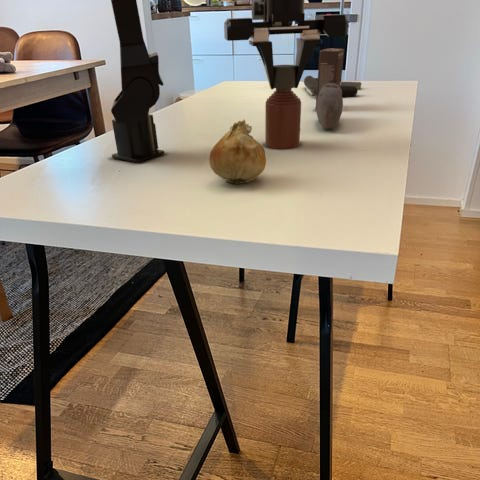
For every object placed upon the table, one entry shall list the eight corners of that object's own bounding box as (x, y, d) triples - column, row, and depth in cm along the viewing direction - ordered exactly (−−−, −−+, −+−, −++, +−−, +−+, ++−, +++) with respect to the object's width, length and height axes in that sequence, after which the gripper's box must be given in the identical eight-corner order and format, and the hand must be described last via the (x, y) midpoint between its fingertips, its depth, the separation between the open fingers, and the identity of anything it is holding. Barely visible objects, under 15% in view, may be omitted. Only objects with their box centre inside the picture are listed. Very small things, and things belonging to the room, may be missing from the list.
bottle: (288, 150, 81) (290, 74, 75) (258, 146, 84) (258, 72, 78) (305, 142, 85) (309, 70, 79) (276, 139, 88) (277, 68, 82)
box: (334, 111, 107) (338, 50, 101) (314, 110, 109) (317, 50, 102) (340, 106, 112) (345, 47, 105) (321, 106, 114) (325, 48, 107)
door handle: (355, 76, 138) (299, 74, 137) (374, 86, 121) (310, 84, 120) (353, 88, 139) (298, 87, 139) (371, 100, 123) (309, 99, 122)
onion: (202, 178, 70) (197, 120, 65) (252, 170, 72) (251, 113, 68) (222, 193, 64) (218, 130, 59) (275, 184, 66) (276, 123, 62)
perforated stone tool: (339, 134, 89) (343, 93, 85) (311, 134, 90) (313, 93, 86) (342, 118, 101) (345, 81, 98) (317, 118, 102) (319, 82, 99)
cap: (276, 89, 77) (276, 67, 76) (268, 86, 81) (268, 65, 79) (299, 87, 78) (300, 66, 76) (290, 84, 81) (291, 64, 80)
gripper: (332, -27, 78) (326, 79, 87) (219, -23, 77) (223, 84, 85) (353, -31, 69) (344, 88, 78) (225, -27, 68) (229, 94, 76)
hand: (283, 88), depth 79 cm, fingers closed on cap, 4 cm apart
